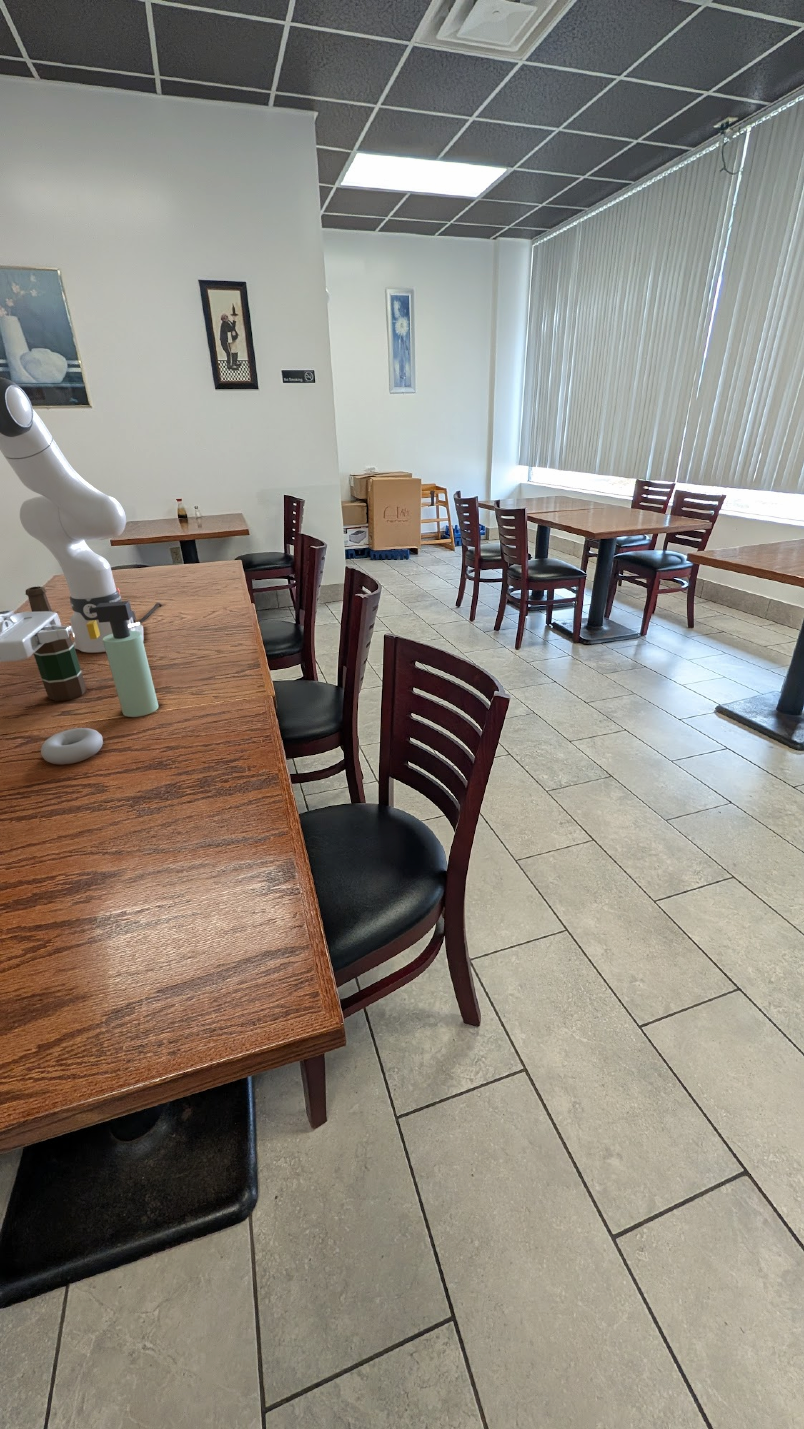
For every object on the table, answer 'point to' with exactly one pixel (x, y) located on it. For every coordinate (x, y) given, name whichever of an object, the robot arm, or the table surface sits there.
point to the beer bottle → (56, 658)
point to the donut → (71, 746)
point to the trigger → (93, 629)
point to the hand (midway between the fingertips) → (70, 631)
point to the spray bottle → (127, 660)
